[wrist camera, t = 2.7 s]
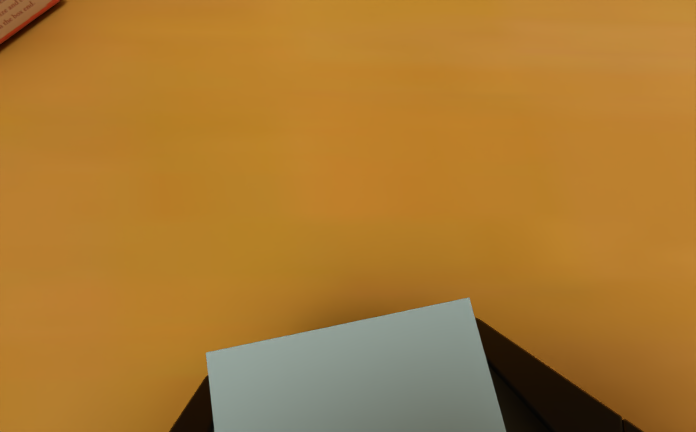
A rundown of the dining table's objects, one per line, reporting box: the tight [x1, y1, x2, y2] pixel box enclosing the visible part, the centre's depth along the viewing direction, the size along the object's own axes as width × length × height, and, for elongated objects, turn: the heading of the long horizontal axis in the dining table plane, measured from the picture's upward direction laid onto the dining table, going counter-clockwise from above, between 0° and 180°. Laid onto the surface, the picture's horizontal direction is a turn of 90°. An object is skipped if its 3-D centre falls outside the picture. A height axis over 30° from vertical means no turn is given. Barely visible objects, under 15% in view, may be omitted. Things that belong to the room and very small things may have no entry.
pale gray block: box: [206, 298, 506, 432], centre depth 11 cm, size 4×4×10 cm
